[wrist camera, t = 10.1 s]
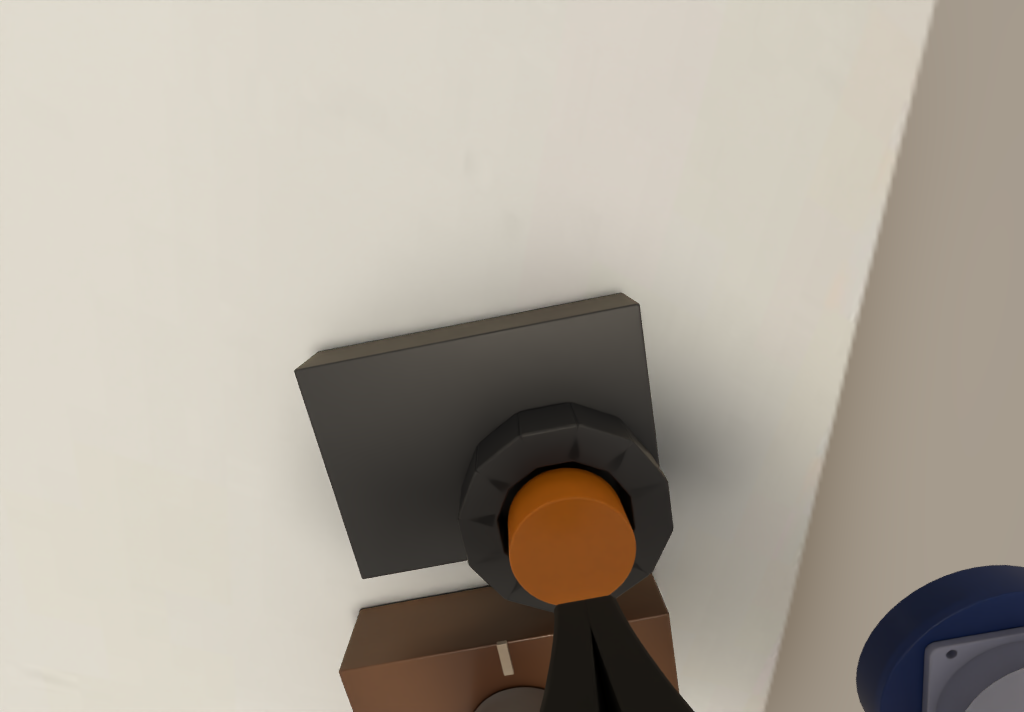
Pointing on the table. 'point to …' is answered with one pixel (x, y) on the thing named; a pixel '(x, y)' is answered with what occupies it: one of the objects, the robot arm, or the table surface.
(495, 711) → the dial
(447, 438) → the switch block
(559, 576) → the switch button
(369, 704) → the dimmer panel
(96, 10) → the table surface
